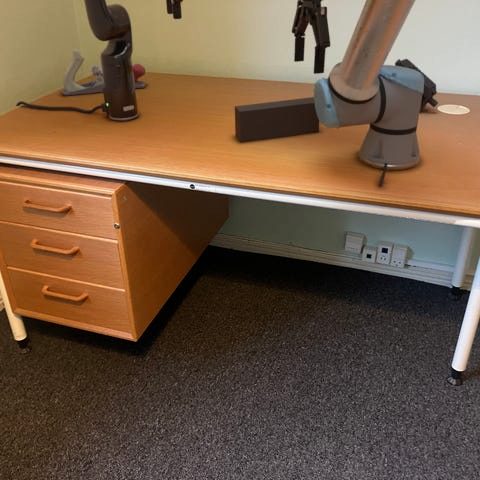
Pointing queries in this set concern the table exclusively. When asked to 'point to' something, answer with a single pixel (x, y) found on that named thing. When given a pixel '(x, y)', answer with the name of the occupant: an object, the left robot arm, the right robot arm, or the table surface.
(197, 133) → the table surface
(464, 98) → the table surface
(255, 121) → the bar
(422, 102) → the tool
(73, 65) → the hand plane
